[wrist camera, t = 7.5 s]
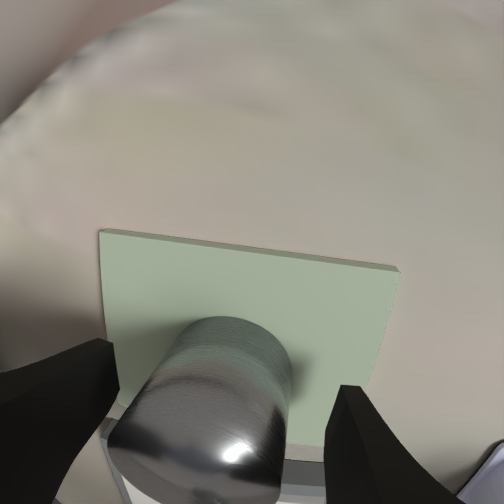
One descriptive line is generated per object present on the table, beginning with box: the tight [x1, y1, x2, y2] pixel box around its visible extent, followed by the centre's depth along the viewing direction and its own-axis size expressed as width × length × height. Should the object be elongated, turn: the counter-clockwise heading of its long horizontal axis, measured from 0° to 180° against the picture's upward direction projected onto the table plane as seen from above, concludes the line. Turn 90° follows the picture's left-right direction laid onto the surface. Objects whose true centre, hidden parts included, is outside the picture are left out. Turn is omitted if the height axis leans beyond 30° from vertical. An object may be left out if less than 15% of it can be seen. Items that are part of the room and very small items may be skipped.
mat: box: [99, 229, 401, 447], centre depth 11 cm, size 10×8×1 cm
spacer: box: [107, 316, 292, 504], centre depth 9 cm, size 4×4×5 cm
